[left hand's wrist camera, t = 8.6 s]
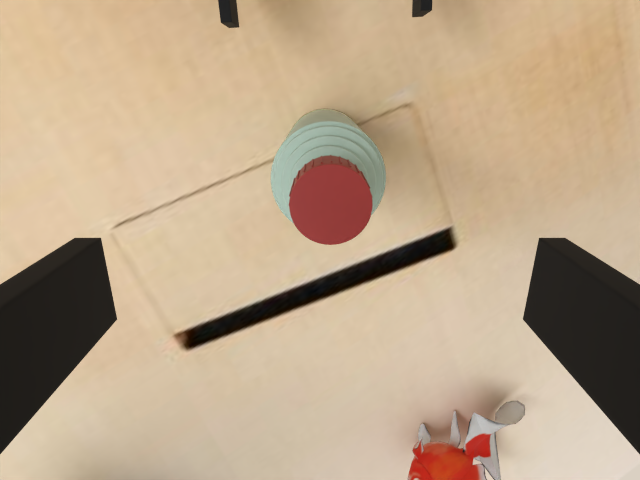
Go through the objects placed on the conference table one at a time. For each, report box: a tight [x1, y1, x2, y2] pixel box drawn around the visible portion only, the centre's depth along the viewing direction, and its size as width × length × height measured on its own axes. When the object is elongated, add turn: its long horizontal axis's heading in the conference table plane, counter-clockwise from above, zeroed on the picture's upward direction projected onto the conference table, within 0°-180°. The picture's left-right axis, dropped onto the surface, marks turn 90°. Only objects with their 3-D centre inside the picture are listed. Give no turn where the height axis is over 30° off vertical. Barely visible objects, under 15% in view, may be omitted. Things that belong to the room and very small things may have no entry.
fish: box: [408, 401, 525, 480], centre depth 46 cm, size 11×16×10 cm
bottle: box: [271, 109, 386, 223], centre depth 30 cm, size 7×7×20 cm
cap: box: [289, 155, 373, 245], centre depth 22 cm, size 4×4×3 cm
